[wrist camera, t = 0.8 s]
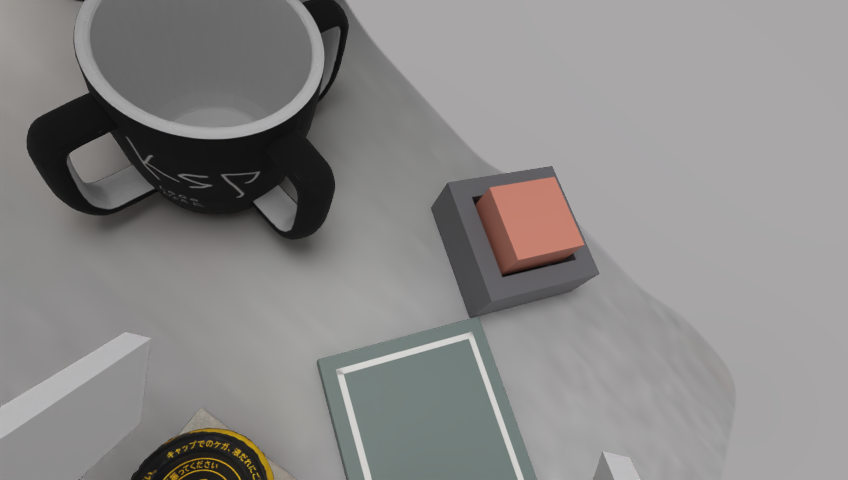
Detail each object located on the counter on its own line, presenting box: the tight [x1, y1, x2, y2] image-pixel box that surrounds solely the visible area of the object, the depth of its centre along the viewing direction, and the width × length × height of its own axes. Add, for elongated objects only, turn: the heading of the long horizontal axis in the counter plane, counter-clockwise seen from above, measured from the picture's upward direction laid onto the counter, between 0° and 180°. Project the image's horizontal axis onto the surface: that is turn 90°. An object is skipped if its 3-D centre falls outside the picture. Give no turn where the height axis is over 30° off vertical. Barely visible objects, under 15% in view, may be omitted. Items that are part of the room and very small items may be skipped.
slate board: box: [317, 317, 537, 480], centre depth 35 cm, size 13×12×1 cm
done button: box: [475, 177, 585, 275], centre depth 39 cm, size 5×5×3 cm
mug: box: [27, 0, 349, 239], centre depth 34 cm, size 16×16×12 cm
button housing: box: [431, 166, 599, 318], centre depth 41 cm, size 9×9×4 cm
